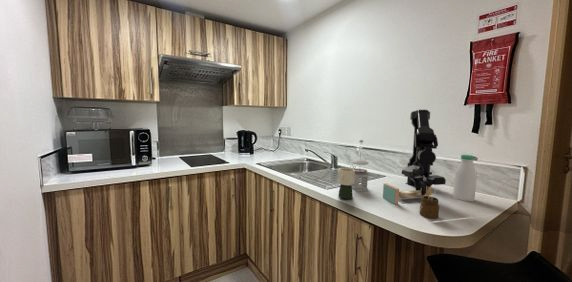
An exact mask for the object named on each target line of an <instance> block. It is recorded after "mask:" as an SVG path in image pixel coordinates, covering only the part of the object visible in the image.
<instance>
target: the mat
mask: <svg viewBox="0 0 572 282" xmlns="http://www.w3.org/2000/svg"><path fill="white" fill-rule="evenodd" d="M421 201H422V197H417V198H406V199H402V198H400V197H399V199H398V203H400V204H412V203H415V204H416V203H421Z"/></svg>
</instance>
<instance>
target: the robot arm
mask: <svg viewBox="0 0 572 282" xmlns="http://www.w3.org/2000/svg"><path fill="white" fill-rule="evenodd" d="M409 119H410V121H411V125H412V127H413V128H414V131H413V141H412V142H413V144H412V155H411V157H410V158H409V159H408V162H407V164H406V167H403V168H402V169H401V175H404V177H407V179H406V182H405V185H408V186H411V187H414V189H415V190H421V193H422V196H423V195H425V194H426V186H427V191H428V187H429V189H430V187H431V188H432V187H433V185H434V186H438V185H446V182H447V181H446V180H447V179H446V178H445V177H444V176H441V175H433V172H432V171H431V166H434V162H435V161H436V160H437V157H436V156H437V155H436V154H435V152H434V151H433V149H434V150H435V149H437V148H438V146H439V142H438V137H437V135H436V134H435V131H434V129H433V128H431V127H430V121H429V120H430V119H431V111H429V110H428V109H416V110H413V111H411V112H410V117H409Z"/></svg>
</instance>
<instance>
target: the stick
mask: <svg viewBox="0 0 572 282" xmlns="http://www.w3.org/2000/svg"><path fill="white" fill-rule="evenodd" d="M421 190H422V189H421ZM421 190H416V189H415V190H404V191H402V190H401V191H400V190H399V197H400V198H402V199H406V198H417V197H423V196H428V195H427V194H425V195H423V196H422V193H421ZM427 192H428V191H427Z"/></svg>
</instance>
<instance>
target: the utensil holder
mask: <svg viewBox="0 0 572 282" xmlns="http://www.w3.org/2000/svg"><path fill="white" fill-rule="evenodd" d="M433 191H434V192H433ZM433 193H434V194H436V193H437V188H436V187H435V186H431V187H430V188H429V187H428V192H427V186H426V194H427V195H428V196H423V197H422V201H421V202H419V203H420V204H419V215H420V216H421V217H422V218H423V217H424V218H425V219H430V220H437V219H439V212H440V206H439V199H438V198H437V197H435V196H434V194H433Z"/></svg>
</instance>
